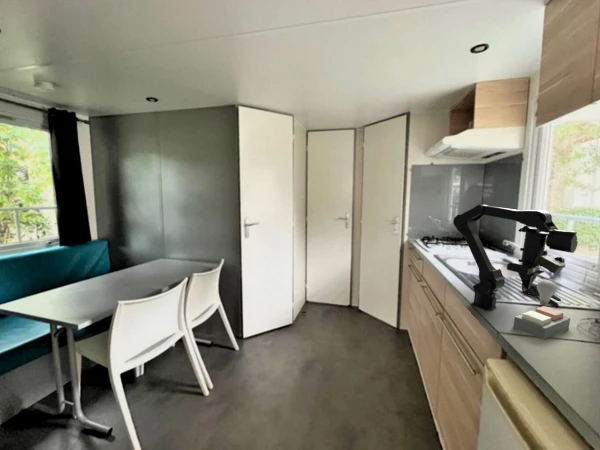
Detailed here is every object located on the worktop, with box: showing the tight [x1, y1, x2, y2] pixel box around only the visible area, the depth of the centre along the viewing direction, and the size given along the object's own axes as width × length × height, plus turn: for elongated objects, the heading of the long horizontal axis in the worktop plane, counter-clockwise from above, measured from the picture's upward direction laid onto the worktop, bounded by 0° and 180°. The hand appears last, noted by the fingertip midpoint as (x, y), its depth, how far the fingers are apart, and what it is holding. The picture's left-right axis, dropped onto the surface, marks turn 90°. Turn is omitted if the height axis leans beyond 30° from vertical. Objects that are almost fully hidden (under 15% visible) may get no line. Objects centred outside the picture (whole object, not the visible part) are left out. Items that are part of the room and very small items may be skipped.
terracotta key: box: [536, 305, 565, 321], centre depth 98 cm, size 6×6×4 cm
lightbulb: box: [537, 279, 558, 307], centre depth 114 cm, size 6×6×11 cm
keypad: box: [512, 309, 571, 341], centre depth 96 cm, size 9×17×4 cm, turn 117°
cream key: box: [522, 310, 551, 326], centre depth 94 cm, size 6×6×4 cm
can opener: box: [521, 282, 562, 307], centre depth 123 cm, size 18×7×6 cm, turn 1°
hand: (526, 288), depth 100 cm, fingers closed
